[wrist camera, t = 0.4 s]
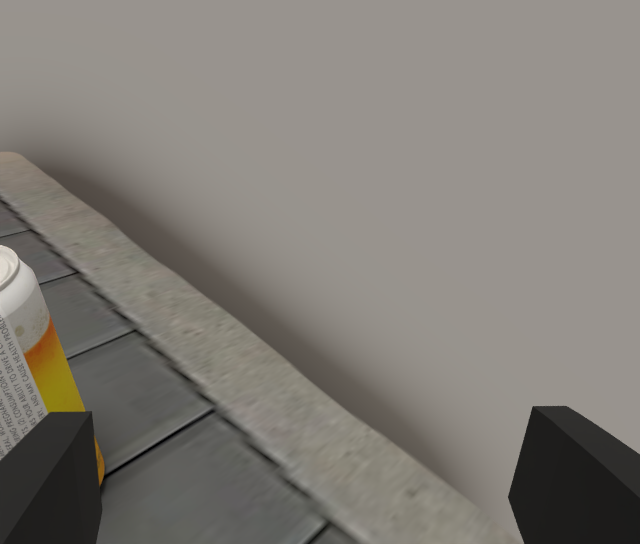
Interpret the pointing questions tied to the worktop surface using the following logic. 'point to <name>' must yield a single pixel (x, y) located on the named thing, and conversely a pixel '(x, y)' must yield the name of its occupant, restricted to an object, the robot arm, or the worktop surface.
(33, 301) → the beer can
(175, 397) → the worktop surface
